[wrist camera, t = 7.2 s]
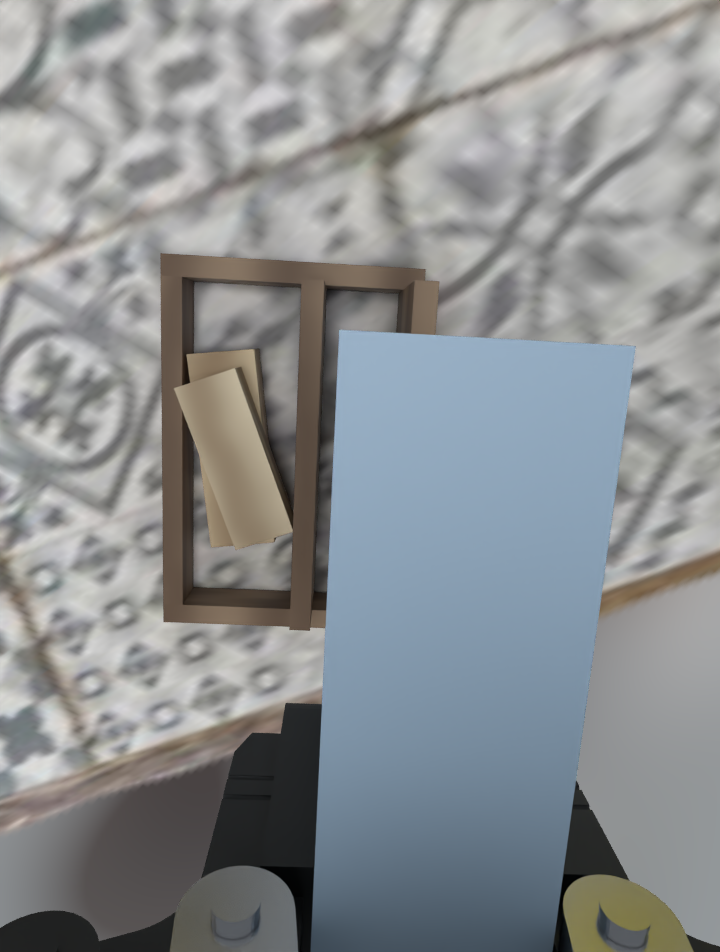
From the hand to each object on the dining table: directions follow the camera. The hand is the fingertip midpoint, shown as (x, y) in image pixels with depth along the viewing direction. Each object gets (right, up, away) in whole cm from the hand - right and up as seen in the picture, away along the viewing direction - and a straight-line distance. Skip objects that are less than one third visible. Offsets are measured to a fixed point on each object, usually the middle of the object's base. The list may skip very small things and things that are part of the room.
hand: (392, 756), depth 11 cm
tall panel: (0, +2, +11) cm, 12 cm away
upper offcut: (-8, +6, +29) cm, 30 cm away
